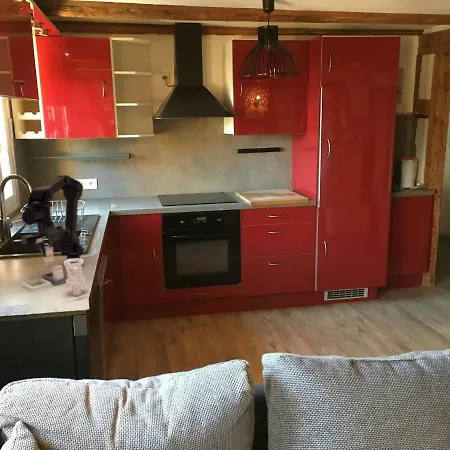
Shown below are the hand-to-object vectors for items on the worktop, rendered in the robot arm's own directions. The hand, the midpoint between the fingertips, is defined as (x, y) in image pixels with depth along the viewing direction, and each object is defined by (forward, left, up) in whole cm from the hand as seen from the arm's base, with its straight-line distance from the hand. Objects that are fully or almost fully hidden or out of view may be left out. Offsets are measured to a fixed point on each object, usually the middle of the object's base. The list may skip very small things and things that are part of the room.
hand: (48, 256), depth 207 cm
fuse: (+6, 0, -10) cm, 12 cm away
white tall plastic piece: (+24, -1, -11) cm, 26 cm away
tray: (+3, -8, -11) cm, 14 cm away
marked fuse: (0, 0, -3) cm, 3 cm away
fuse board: (+3, 0, -11) cm, 12 cm away
